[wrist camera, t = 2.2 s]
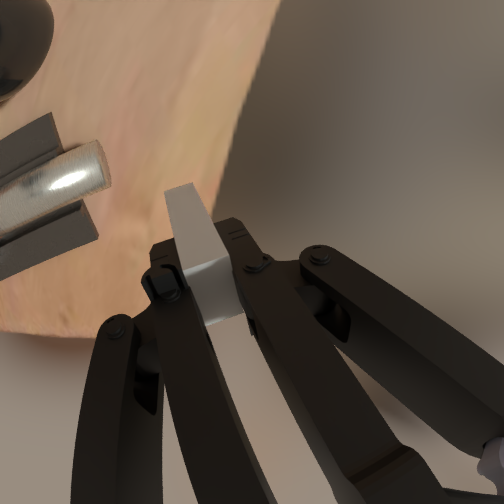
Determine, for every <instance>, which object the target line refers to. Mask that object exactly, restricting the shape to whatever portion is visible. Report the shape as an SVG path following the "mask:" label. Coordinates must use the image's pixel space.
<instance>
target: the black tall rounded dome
mask: <svg viewBox="0 0 504 504" xmlns="http://www.w3.org/2000/svg"><path fill="white" fill-rule="evenodd" d="M53 32H54V17H53V12H52V9H51V7H50V5H49V3H48V2H47V1H46V0H0V102H2V101H4V100H6V99H8V98H10V97H12V96H13V95H15V94H16V93H17V92H19V91H20V90H21V89H22V88H23V87H25V86H26V85H27V84H28V83H29V81H30V80H31V79H32V78H33V77H34V75H35V74H36V73H37V71H38V70H39V68H40V67H41V65H42V63H43V62H44V60H45V58H46V56H47V53H48V51H49V48H50V45H51V42H52V38H53Z"/></svg>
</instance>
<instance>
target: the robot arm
mask: <svg viewBox="0 0 504 504" xmlns="http://www.w3.org/2000/svg"><path fill="white" fill-rule="evenodd" d="M164 195H165V200H166V204H167V209H168V213H169V218H170V222H171V226H172V230H173V235H174V238H171V239H168V240H165V241H162V242H160V243H157V244H154V245H153V246H152V249H151V251H150V253H149V254H150V263H151V267H150V268H149V269H148V270H147V271H146V272H145V273H144V275H143V276H142V279H141V284H142V286H143V288H144V290H145V292H146V293H147V295H148V297H149V299H150V301H151V304H150V305H149V306H148V307H147V308H146V309H145V310H144V311H143V312H141V313H140V314H138V315H137V316H135V317H134V318H131V317H130V316H128V315H126V314H118V315H114V316H112V317H110V318H108V319H107V320H106V321H105V322H104V323H103V324H102V325H101V327H100V329H99V331H98V334H97V337H96V341H95V346H94V349H93V353H92V357H91V361H90V366H89V370H88V374H87V379H86V383H85V388H84V393H83V398H82V404H81V409H80V415H79V421H78V428H77V434H76V442H75V449H74V459H73V469H72V482H71V501H70V504H163V486H162V428H163V426H162V425H163V400H164V383H165V388H166V392H167V397H168V401H169V406H170V410H171V414H172V418H173V422H174V426H175V430H176V434H177V437H178V441H179V445H180V448H181V452H182V455H183V458H184V462H185V465H186V468H187V472H188V475H189V478H190V481H191V484H192V487H193V490H194V493H195V496H196V498H197V501H198V504H278V503H277V501H276V499H275V497H274V495H273V493H272V491H271V489H270V486H269V484H268V482H267V480H266V478H265V476H264V473H263V471H262V469H261V467H260V465H259V462H258V460H257V458H256V455H255V453H254V451H253V448H252V446H251V444H250V442H249V439H248V437H247V434H246V432H245V429H244V427H243V425H242V422H241V420H240V417H239V415H238V412H237V410H236V407H235V404H234V402H233V400H232V397H231V394H230V392H229V389H228V386H227V384H226V381H225V378H224V376H223V373H222V370H221V368H220V365H219V362H218V359H217V356H216V353H215V351H214V348H213V345H212V342H211V339H210V337H209V334H208V332H207V330H206V327H205V326H208V325H210V324H213V323H216V322H219V321H222V320H225V319H227V318H230V317H233V316H236V315H238V314H241V313H244V312H243V309H244V311H245V314H246V317H247V321H248V325H249V329H250V333H251V335H254V337H255V339H256V341H257V343H258V345H259V347H260V349H261V352H262V353H263V356H264V358H265V360H266V362H267V364H268V366H269V368H270V370H271V372H272V374H273V376H274V378H275V380H276V382H277V384H278V386H279V388H280V390H281V392H282V394H283V396H284V398H285V400H286V402H287V404H288V406H289V408H290V410H291V412H292V414H293V416H294V418H295V420H296V422H297V424H298V426H299V428H300V429H301V431H302V433H303V435H304V437H305V439H306V441H307V443H308V445H309V447H310V449H311V450H312V452H313V454H314V456H315V458H316V460H317V462H318V464H319V465H320V467H321V469H322V471H323V473H324V475H325V476H326V478H327V480H328V482H329V484H330V486H331V488H332V491H333V494H334V496H335V499H336V501H337V502H338V504H504V365H503V364H501V363H500V362H499V361H497V360H496V359H495V358H494V357H492V356H491V355H490V354H488V353H487V352H486V351H484V350H483V349H482V348H480V347H479V346H477V345H476V344H475V343H474V342H472V341H471V340H469V339H468V338H467V337H465V336H464V335H463V334H461V333H460V332H458V331H457V330H456V329H454V328H453V327H451V326H450V325H449V324H447V323H446V322H444V321H443V320H441V319H440V318H439V317H437V316H436V315H434V314H433V313H432V312H430V311H429V310H427V309H426V308H424V307H423V306H421V305H420V304H419V303H417V302H416V301H414V300H413V299H411V298H410V297H408V296H407V295H405V294H404V293H402V292H401V291H399V290H398V289H396V288H395V287H393V286H392V285H390V284H388V283H387V282H386V281H384V280H383V279H381V278H379V277H378V276H376V275H375V274H373V273H372V272H370V271H369V270H367V269H366V268H364V267H362V266H361V265H359V264H358V263H356V262H355V261H353V260H351V259H350V258H348V257H347V256H345V255H344V254H342V253H340V252H339V251H337V250H336V249H334V248H332V247H329V246H326V245H313V246H310V247H308V248H306V249H304V250H303V251H302V252H301V254H300V256H299V260H292V261H276V260H274V259H273V258H272V257H271V256H270V255H268V254H265V253H263V252H262V251H261V249H260V248H259V247H258V245H257V244H256V242H255V241H254V239H253V238H252V236H251V235H250V234H249V232H248V231H247V229H246V228H245V226H244V225H243V223H242V222H241V221H240V220H237V219H235V218H233V217H232V218H229V219H226V220H223V221H220V222H217V223H213V222H212V220H211V218H210V216H209V214H208V212H207V210H206V208H205V206H204V204H203V202H202V200H201V198H200V196H199V194H198V192H197V190H196V188H195V186H194V184H193V182H192V183H189V184H186V185H182V186H179V187H176V188H173V189H170V190H167V191H164ZM242 307H243V308H242ZM333 344H334V345H335V346H336V347H337V348H339V349H340V350H341V351H342V352H343V353H344V354H346V356H348V357H349V358H350V359H351V360H352V361H353V362H355V363H356V364H357V365H358V366H359V367H360V368H361V369H363V370H364V371H365V372H366V373H367V374H368V375H370V376H371V377H372V378H373V379H374V380H376V381H377V382H378V383H379V384H380V385H381V386H382V387H384V388H385V389H386V390H387V391H388V392H389V393H391V394H392V395H393V396H394V397H395V398H397V399H398V400H399V401H400V402H401V403H403V404H404V405H405V406H406V407H407V408H408V409H410V410H411V411H412V412H413V413H414V414H415V415H417V416H418V417H419V418H420V419H422V420H423V421H424V422H425V423H426V424H427V425H429V426H430V427H431V428H432V429H433V430H435V431H436V432H437V433H438V434H439V435H441V436H442V437H443V438H444V439H445V440H447V441H448V442H449V443H451V444H452V445H453V446H455V447H456V448H457V449H459V450H461V451H463V452H465V453H467V454H468V455H471V456H474V457H477V458H480V459H481V460H480V461H479V463H478V465H477V471H478V473H479V474H480V475H484V476H485V477H486V478H487V479H489V480H491V481H492V482H493V483H494V484H495V486H496V488H497V495H490V494H480V493H474V492H467V491H460V490H454V489H449V488H442V486H441V485H440V483H439V482H438V480H437V479H436V477H435V476H434V474H433V473H432V471H431V469H430V468H429V466H428V465H427V463H426V462H425V460H424V459H423V458H422V457H421V456H420V455H419V453H418V452H416V451H415V450H414V449H413V448H411V447H408V446H405V445H403V444H402V443H401V442H399V440H398V439H397V438H396V437H395V435H394V433H393V432H392V430H391V429H390V427H389V426H388V424H387V423H386V421H385V420H384V418H383V417H382V415H381V414H380V413H379V411H378V409H377V408H376V406H375V405H374V403H373V402H372V401H371V399H370V398H369V396H368V395H367V393H366V392H365V390H364V389H363V387H362V386H361V384H360V383H359V381H358V380H357V378H356V377H355V375H354V374H353V373H352V371H351V369H350V368H349V367H348V365H347V364H346V362H345V361H344V359H343V358H342V356H341V355H340V354H339V352H338V351H337V349H336V348H335V346H334V345H333Z"/></svg>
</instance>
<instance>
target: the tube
mask: <svg viewBox="0 0 504 504" xmlns="http://www.w3.org/2000/svg"><path fill="white" fill-rule="evenodd" d="M110 187H111V175H110V170H109V166H108V162H107V159H106V156H105V153H104V151H103V148H102V146H101V144H100V143H99V141H98V140H94V141H91V142H89V143H87V144H84V145H82V146H80V147H77V148H75V149H73V150H70V151H68V152H66V153H64V154H62V155H60V156H58V157H55V158H53V159H51V160H49V161H47V162H45V163H43V164H41V165H39V166H37V167H36V168H34V169H32V170H30V171H28V172H26V173H24V174H23V175H21V176H19V177H17V178H15V179H14V180H12V181H10V182H8V183H7V184H5V185H3V186H2V187H0V238H1V237H3V236H5V235H7V234H9V233H11V232H12V231H14V230H16V229H18V228H20V227H22V226H24V225H26V224H28V223H30V222H32V221H34V220H36V219H38V218H40V217H42V216H44V215H47V214H49V213H51V212H53V211H55V210H57V209H60V208H62V207H64V206H66V205H69V204H71V203H73V202H75V201H78V200H80V199H83V198H85V197H87V196H90V195H92V194H95V193H97V192H100V191H102V190H105V189H107V188H110Z"/></svg>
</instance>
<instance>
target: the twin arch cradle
mask: <svg viewBox="0 0 504 504" xmlns="http://www.w3.org/2000/svg"><path fill="white" fill-rule="evenodd" d="M64 153H65V152H64V149H63V147H62V144H61V141H60V138H59V135H58V132H57V129H56V125H55V122H54V119H53V116H52V112H50V113H48V114H46V115H44V116H42V117H40V118H38V119H37V120H35V121H33V122H31V123H29V124H27V125H26V126H24V127H22V128H20V129H19V130H17V131H15V132H14V133H12V134H10V135H9V136H7V137H5V138H4V139H2V140H1V141H0V187H2V186H3V185H5V184H7V183H8V182H10V181H12V180H14V179H15V178H17V177H19V176H21V175H23V174H24V173H26V172H28V171H30V170H32V169H34V168H36V167H37V166H39V165H41V164H43V163H45V162H47V161H49V160H51V159H53V158H55V157H58V156H60V155H62V154H64ZM98 236H99V234H98V232H97V230H96V228H95V225H94V223H93V221H92V219H91V217H90V214H89V212H88V210H87V208H86V205H85V203H84V201H83V199H80V200H78V201H75V202H73V203H71V204H69V205H66V206H64V207H62V208H60V209H57V210H55V211H53V212H51V213H49V214H47V215H44V216H42V217H40V218H38V219H36V220H34V221H32V222H30V223H28V224H26V225H24V226H22V227H20V228H18V229H16V230H14V231H12V232H11V233H9V234H7V235H5V236H3V237H1V238H0V281H1V280H4V279H6V278H8V277H10V276H12V275H14V274H17V273H19V272H21V271H23V270H25V269H28V268H30V267H32V266H34V265H37V264H39V263H41V262H44V261H46V260H48V259H51V258H53V257H55V256H58V255H60V254H62V253H65V252H67V251H70V250H72V249H75V248H77V247H80V246H82V245H85V244H87V243H90V242H92V241H95V240H97V239H98Z"/></svg>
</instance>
